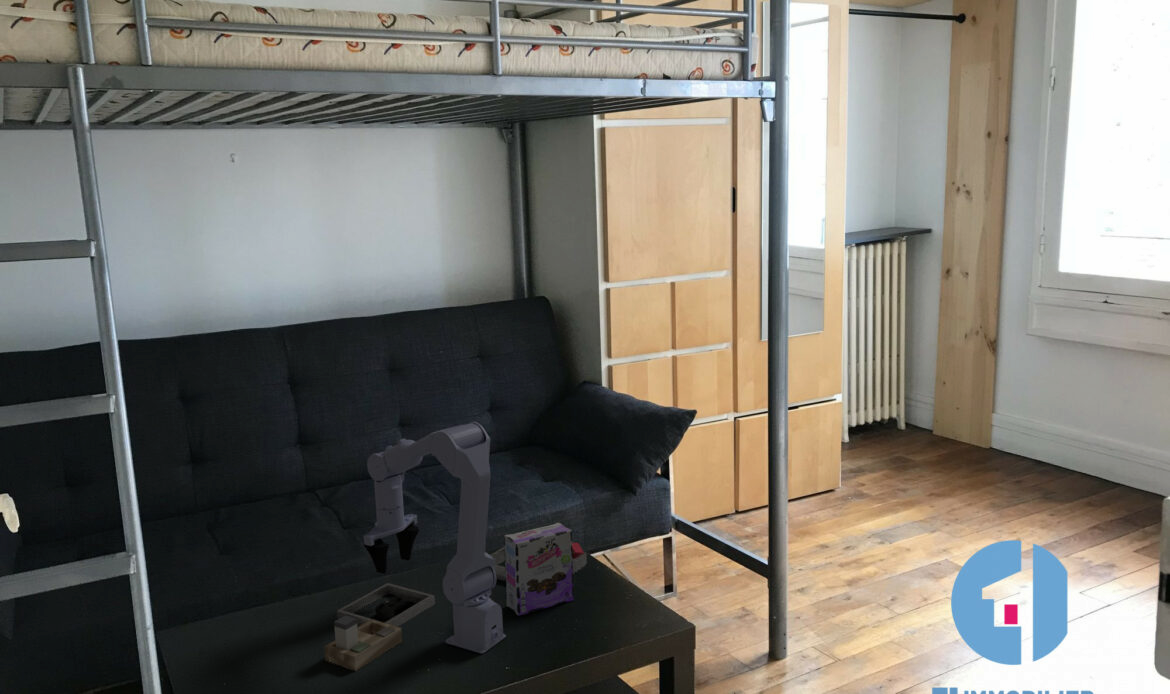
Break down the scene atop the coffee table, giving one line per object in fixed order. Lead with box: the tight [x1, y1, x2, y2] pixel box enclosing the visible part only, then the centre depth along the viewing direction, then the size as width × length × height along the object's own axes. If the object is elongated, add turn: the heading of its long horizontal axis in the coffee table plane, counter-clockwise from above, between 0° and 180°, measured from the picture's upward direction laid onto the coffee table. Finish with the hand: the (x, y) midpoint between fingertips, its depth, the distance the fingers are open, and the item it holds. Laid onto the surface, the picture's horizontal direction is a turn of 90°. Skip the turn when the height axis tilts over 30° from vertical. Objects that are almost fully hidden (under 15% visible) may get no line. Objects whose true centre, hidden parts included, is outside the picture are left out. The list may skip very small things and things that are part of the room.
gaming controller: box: [374, 595, 419, 623], centre depth 204 cm, size 10×5×6 cm
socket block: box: [323, 618, 403, 672], centre depth 188 cm, size 8×13×3 cm, turn 149°
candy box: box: [503, 522, 575, 616], centre depth 205 cm, size 14×6×16 cm, turn 120°
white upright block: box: [333, 615, 358, 651], centre depth 185 cm, size 3×3×8 cm
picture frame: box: [336, 582, 436, 627], centre depth 205 cm, size 14×16×2 cm
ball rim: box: [489, 545, 588, 582], centre depth 224 cm, size 20×17×3 cm
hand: (393, 565), depth 206 cm, fingers open, 7 cm apart
